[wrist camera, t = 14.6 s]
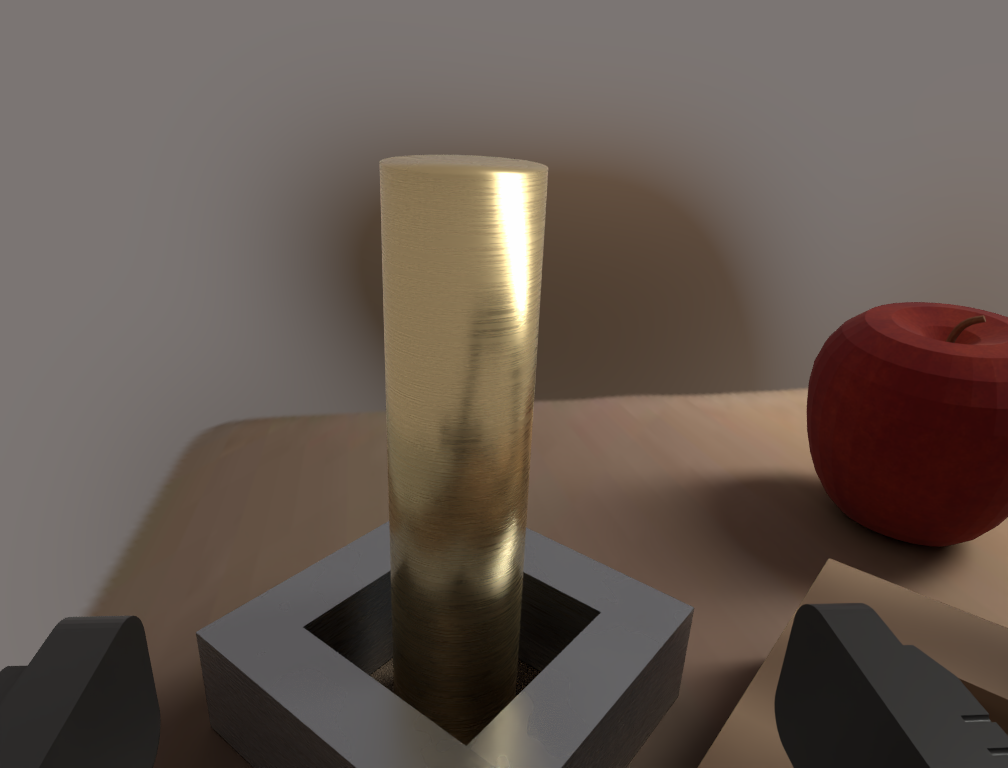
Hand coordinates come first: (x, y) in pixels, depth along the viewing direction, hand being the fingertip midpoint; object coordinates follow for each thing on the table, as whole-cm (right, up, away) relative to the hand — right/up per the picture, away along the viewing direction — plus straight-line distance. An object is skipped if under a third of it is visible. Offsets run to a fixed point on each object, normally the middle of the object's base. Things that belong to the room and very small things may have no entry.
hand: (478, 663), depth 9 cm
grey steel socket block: (-1, -6, +13) cm, 15 cm away
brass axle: (-1, -7, +13) cm, 14 cm away
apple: (+18, -3, +24) cm, 30 cm away
